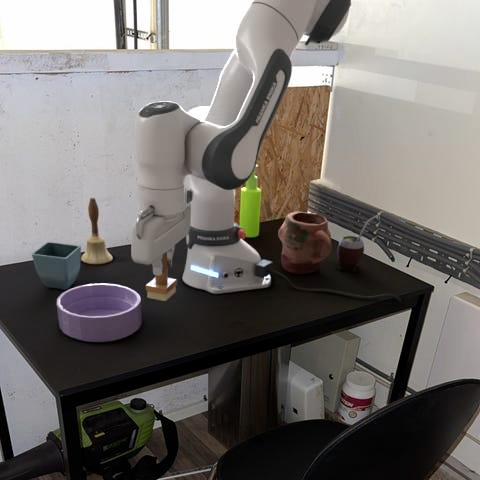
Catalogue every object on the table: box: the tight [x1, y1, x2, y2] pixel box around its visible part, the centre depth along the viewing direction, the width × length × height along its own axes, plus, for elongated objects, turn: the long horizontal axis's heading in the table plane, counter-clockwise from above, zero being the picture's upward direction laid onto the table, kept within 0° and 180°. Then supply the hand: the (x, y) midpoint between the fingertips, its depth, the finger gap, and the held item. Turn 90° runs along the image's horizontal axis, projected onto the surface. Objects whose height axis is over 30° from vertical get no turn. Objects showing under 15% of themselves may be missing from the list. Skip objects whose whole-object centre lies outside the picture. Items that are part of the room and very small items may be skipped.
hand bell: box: [81, 197, 113, 265], centre depth 167 cm, size 8×8×16 cm
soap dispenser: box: [239, 164, 262, 238], centre depth 188 cm, size 6×7×20 cm
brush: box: [145, 251, 178, 302], centre depth 127 cm, size 6×4×10 cm
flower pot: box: [31, 241, 82, 290], centre depth 154 cm, size 9×9×9 cm
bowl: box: [56, 283, 143, 343], centre depth 138 cm, size 17×17×6 cm
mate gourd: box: [336, 214, 379, 273], centre depth 169 cm, size 8×8×15 cm
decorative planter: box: [277, 211, 333, 275], centre depth 167 cm, size 20×12×14 cm, turn 36°
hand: (162, 270), depth 127 cm, fingers closed on brush, 2 cm apart
